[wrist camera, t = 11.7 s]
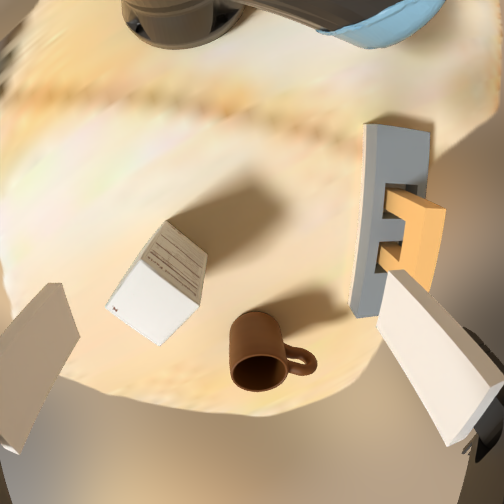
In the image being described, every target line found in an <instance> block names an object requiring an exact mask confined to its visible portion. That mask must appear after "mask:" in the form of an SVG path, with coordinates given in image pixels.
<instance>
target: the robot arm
mask: <svg viewBox="0 0 504 504" xmlns="http://www.w3.org/2000/svg"><path fill="white" fill-rule="evenodd" d="M445 1H446V0H121V2H122V14H123V18H124V20H125V22H126V24H127V26H128V28H129V29H130V30H131V31H132V32H133V33H134V34H135V35H136V36H137V37H138V38H139V39H141V40H142V41H144V42H145V43H147V44H149V45H152V46H154V47H158V48H163V49H172V50H178V49H188V48H193V47H197V46H200V45H203V44H206V43H209V42H211V41H213V40H215V39H217V38H218V37H220V36H222V35H223V34H224V33H226V32H227V31H228V30H229V29H230V28H232V27H233V26H234V24H235V23H236V22H237V21H238V19H239V18H240V16H241V15H242V13H243V11H244V8H245V5H248V6H252V7H255V8H258V9H262V10H265V11H268V12H271V13H274V14H277V15H280V16H283V17H285V18H288V19H291V20H293V21H296V22H299V23H301V24H304V25H306V26H309V27H311V28H314V29H315V30H316V31H317V32H318V33H321V34H323V35H332V36H334V37H337V38H339V39H341V40H344V41H346V42H348V43H351V44H353V45H355V46H357V47H360V48H364V49H377V48H386V47H389V46H392V45H395V44H397V43H399V42H401V41H403V40H405V39H406V38H408V37H410V36H411V35H413V34H414V33H415V32H417V31H418V30H419V29H421V28H422V27H423V26H424V25H426V24H427V23H428V22H429V21H430V20H431V19H432V18H433V17H434V16H435V15H436V13H437V12H438V11H439V10H440V8H441V7H442V6H443V4H444V2H445ZM376 328H377V329H378V331H379V332H380V334H381V335H382V337H383V339H384V340H385V342H386V343H387V345H388V346H389V348H390V350H391V351H392V352H393V354H394V356H395V358H396V359H397V361H398V362H399V364H400V366H401V367H402V369H403V371H404V372H405V374H406V375H407V377H408V379H409V380H410V382H411V384H412V385H413V387H414V389H415V391H416V392H417V394H418V395H419V397H420V399H421V401H422V403H423V404H424V406H425V408H426V409H427V411H428V413H429V415H430V416H431V418H432V420H433V422H434V424H435V425H436V427H437V429H438V431H439V433H440V434H441V436H442V438H443V440H444V442H445V444H446V446H447V447H448V446H450V445H452V444H455V443H457V442H459V441H461V440H463V439H464V438H465V437H466V436H467V435H468V434H469V432H470V431H471V430H472V429H473V427H474V429H475V430H476V432H477V434H476V435H475V436H474V437H473V439H472V440H471V441H470V442H469V443H468V444H467V445H466V446H465V448H464V449H463V452H462V454H465V453H466V451H467V450H468V449H469V448H470V447H471V446H472V447H471V451H470V452H469V454H468V455H470V457H469V461H468V466H467V471H466V475H465V479H464V482H463V486H462V490H461V493H460V496H459V500H458V503H457V504H504V365H503V364H502V363H501V362H500V360H499V359H498V358H497V357H496V356H495V355H494V353H493V352H490V349H489V348H488V347H487V346H486V345H484V343H483V341H482V340H481V339H480V338H479V337H478V336H477V335H476V334H475V333H473V332H472V331H470V330H469V329H467V328H465V327H461V326H460V325H459V324H458V323H457V321H456V320H455V319H454V318H453V317H452V316H451V315H450V314H449V313H448V312H447V311H446V310H445V309H444V308H443V307H442V306H441V305H440V304H439V303H438V302H437V301H436V300H435V299H434V298H433V297H432V296H431V295H430V294H429V293H428V292H427V291H426V290H425V289H424V288H423V287H422V286H421V285H420V284H419V283H418V282H417V281H416V280H415V279H414V278H412V277H411V276H410V275H409V274H408V273H407V272H406V271H405V270H404V269H402V270H389V271H388V275H387V280H386V285H385V290H384V294H383V299H382V304H381V308H380V312H379V317H378V321H377V325H376ZM79 338H80V335H79V332H78V330H77V327H76V324H75V322H74V319H73V316H72V313H71V310H70V307H69V304H68V301H67V298H66V295H65V292H64V289H63V285H62V283H48V284H47V285H46V286H45V287H44V288H43V289H42V290H41V291H40V292H39V293H38V294H37V295H36V296H35V297H34V298H33V299H32V300H31V301H30V303H29V304H28V305H27V306H26V307H25V308H24V309H23V310H22V311H21V312H20V314H19V315H18V316H17V317H16V318H15V319H14V320H13V322H12V323H11V324H10V325H9V326H8V327H7V329H6V330H5V331H4V332H3V333H2V335H1V336H0V444H1V445H2V446H3V447H4V448H5V449H7V450H9V451H12V452H14V453H16V454H18V455H20V454H21V451H22V449H23V447H24V444H25V442H26V440H27V438H28V435H29V433H30V431H31V429H32V426H33V424H34V422H35V420H36V418H37V416H38V414H39V412H40V410H41V408H42V406H43V404H44V402H45V400H46V398H47V396H48V394H49V392H50V390H51V388H52V386H53V384H54V382H55V380H56V379H57V377H58V375H59V373H60V371H61V370H62V368H63V366H64V364H65V362H66V361H67V359H68V357H69V355H70V354H71V352H72V350H73V349H74V347H75V345H76V343H77V342H78V340H79ZM0 504H12V501H11V498H10V495H9V492H8V488H7V485H6V482H5V478H4V475H3V471H2V466H1V462H0Z"/></svg>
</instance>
